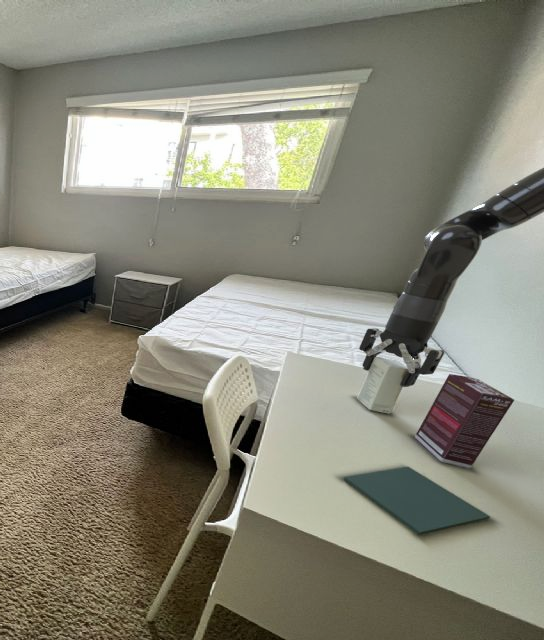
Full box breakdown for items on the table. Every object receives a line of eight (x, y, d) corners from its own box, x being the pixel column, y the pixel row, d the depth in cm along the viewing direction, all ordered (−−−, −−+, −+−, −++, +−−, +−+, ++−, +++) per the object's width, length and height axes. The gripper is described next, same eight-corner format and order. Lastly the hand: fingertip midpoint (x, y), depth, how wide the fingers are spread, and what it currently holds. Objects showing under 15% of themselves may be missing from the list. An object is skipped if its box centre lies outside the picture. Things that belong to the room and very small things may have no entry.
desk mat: (406, 468, 66) (408, 466, 66) (488, 519, 56) (490, 516, 56) (343, 479, 62) (344, 476, 62) (418, 535, 53) (420, 532, 52)
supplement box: (472, 470, 67) (517, 400, 62) (440, 462, 69) (481, 393, 63) (440, 442, 75) (478, 378, 69) (412, 436, 76) (447, 372, 71)
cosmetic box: (390, 414, 84) (413, 370, 80) (368, 410, 85) (390, 366, 81) (375, 401, 90) (396, 358, 86) (355, 397, 91) (374, 355, 87)
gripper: (469, 325, 73) (432, 392, 79) (390, 304, 86) (364, 363, 92) (445, 326, 72) (409, 394, 77) (368, 304, 85) (342, 364, 90)
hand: (385, 377), depth 85 cm, fingers closed on cosmetic box, 7 cm apart
